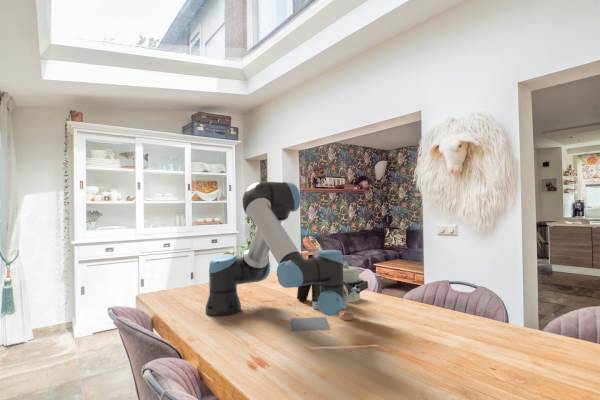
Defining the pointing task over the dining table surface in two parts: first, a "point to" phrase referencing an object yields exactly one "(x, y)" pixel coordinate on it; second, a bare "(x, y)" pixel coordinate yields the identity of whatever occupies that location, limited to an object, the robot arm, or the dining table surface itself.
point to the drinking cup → (303, 292)
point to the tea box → (316, 295)
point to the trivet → (309, 324)
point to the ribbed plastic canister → (351, 280)
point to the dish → (346, 315)
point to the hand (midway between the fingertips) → (347, 279)
